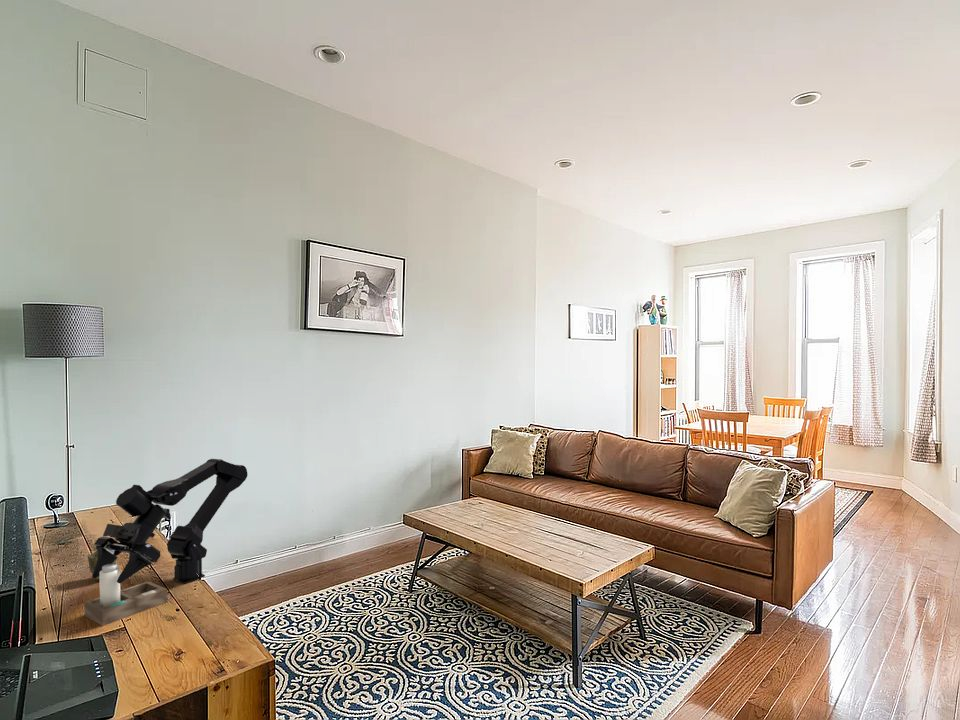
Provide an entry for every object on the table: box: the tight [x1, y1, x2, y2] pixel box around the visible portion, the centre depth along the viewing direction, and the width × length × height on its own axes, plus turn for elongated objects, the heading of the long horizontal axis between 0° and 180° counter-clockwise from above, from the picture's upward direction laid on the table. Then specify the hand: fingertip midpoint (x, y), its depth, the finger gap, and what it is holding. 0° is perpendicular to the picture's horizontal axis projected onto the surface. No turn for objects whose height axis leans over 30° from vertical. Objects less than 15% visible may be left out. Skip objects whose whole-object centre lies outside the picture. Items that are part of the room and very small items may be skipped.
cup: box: [87, 549, 118, 581], centre depth 167 cm, size 8×7×8 cm
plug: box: [99, 563, 121, 608], centre depth 144 cm, size 4×4×12 cm
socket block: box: [83, 581, 168, 626], centre depth 147 cm, size 16×10×4 cm, turn 147°
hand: (105, 580), depth 143 cm, fingers open, 9 cm apart
